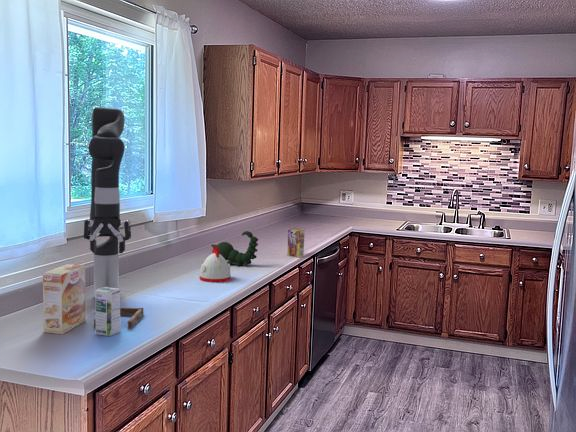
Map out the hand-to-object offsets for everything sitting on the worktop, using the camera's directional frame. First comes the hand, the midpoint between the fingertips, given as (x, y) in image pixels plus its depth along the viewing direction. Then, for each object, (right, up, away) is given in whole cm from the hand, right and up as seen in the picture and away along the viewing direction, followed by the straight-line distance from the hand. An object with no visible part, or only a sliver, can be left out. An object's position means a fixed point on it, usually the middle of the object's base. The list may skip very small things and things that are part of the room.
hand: (107, 252), depth 189 cm
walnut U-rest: (-1, -24, +16) cm, 29 cm away
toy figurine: (+29, -13, +113) cm, 118 cm away
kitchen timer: (+24, -17, +81) cm, 87 cm away
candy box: (+61, -11, +140) cm, 154 cm away
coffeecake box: (-16, -25, +8) cm, 31 cm away
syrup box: (-1, -26, +3) cm, 26 cm away
